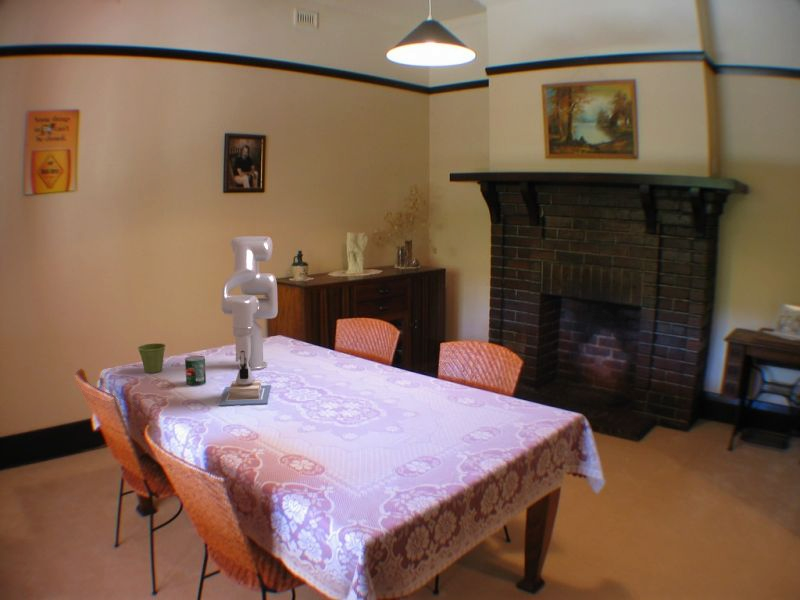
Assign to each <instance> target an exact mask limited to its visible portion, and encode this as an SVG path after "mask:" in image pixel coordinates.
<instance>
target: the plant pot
mask: <svg viewBox="0 0 800 600" xmlns="http://www.w3.org/2000/svg"><path fill="white" fill-rule="evenodd" d="M166 347H167V344H166V343H160V342H159V343H158V342H155V343H154V342H153V343H147V344H143V345H142V344H141V345H139V346H137V347H136V348H137V350H138V352H139V354H140V358H141V361H142V362H141V363H142V366H143V369H144V372H145V373H146V372H147V373H146V374H154V373H160V372H162V371H163V365H164V356H165V355H164V353H165V349H166Z"/></svg>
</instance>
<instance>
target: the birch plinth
mask: <svg viewBox="0 0 800 600" xmlns="http://www.w3.org/2000/svg"><path fill="white" fill-rule="evenodd" d="M235 381H236V380H232V381H231V384H230V386H229V387H230V388H229V400H234V399H259V396H260V392H261V386H262V380H261V379H255V381H254V382H253V383H250V384H238V383H235Z"/></svg>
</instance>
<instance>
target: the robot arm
mask: <svg viewBox="0 0 800 600" xmlns="http://www.w3.org/2000/svg"><path fill="white" fill-rule="evenodd" d="M273 245H274V244H273V241H272V238H271V237H269V236H266V235H264V236H263V235H262V236H261V235H259V236H258V235H257V236H254V235H253V236H252V235H248V236H247V235H246V236H245V235H244V236H235V237H233V238H232V239H231V241H230V246H231V250H232V253H233V254H234V264H233V265H234V267H233V269H234V270H233V274H231V275H230V276H229V277H228V278H227V279H226V281H225V283H224V284H223V286H222V289H221V301H220V303H221V304H220V306H221V307H220V308H221V311H222V312H223V314H225V315H231V316H232V335H233V337H235V361H236V362H237V363H238V362H239V364H238V368H239V369H240V379H248V378H249V377H248V368H247V361H248V364H249V367H250V370H251V371H257V370H262V369H264V368H267V366H268V362H266V361H264V341H263V338H264V337H263V327H262V325H261V324H260V322H259V321H258V320H260V319H262V320H266V319H267V320H268V319H275V318H276V317H277V316H278V313H279V311H278V310H279V307H278V306H279V303H278V284H277V283H278V282H277V279H276V276H275V275H274V274H273V273H268V272H267V273H260V263H259V262H267V261H270V260H271V257H272V255H273V248H274V246H273ZM237 287H240V292H241V293H242V294H240V295H239V294H235V295H234V294H233V295H230V294H231V292H232V291H233V290H234V289H235V288H237ZM263 295H264V296H266V297H257V296H263ZM244 359H246V361H244ZM244 362H246V364H245V363H244Z"/></svg>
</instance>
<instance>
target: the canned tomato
mask: <svg viewBox="0 0 800 600" xmlns="http://www.w3.org/2000/svg"><path fill="white" fill-rule="evenodd" d="M184 360H185V361H184V364H185V366H184V367H185V383H186V384H185V385H186V386H187V385H188V387H201V386H204V385H206V384H207V376H206V375H207V373H206V357H205V356H204V355H191V356H187V357H185V358H184Z"/></svg>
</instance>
